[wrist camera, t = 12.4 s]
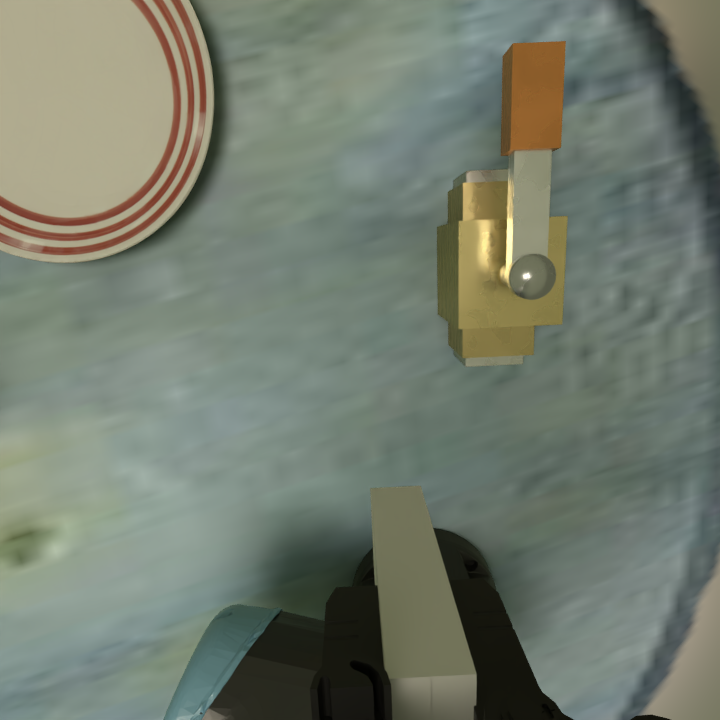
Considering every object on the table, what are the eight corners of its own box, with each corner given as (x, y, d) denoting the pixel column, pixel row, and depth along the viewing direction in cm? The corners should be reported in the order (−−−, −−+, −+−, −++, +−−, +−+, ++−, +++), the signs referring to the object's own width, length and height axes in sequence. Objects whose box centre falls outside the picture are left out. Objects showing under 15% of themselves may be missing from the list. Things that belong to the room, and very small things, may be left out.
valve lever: (491, 295, 36) (508, 300, 32) (494, 66, 33) (515, 40, 29) (533, 293, 36) (556, 298, 32) (541, 64, 33) (568, 38, 29)
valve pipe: (520, 351, 47) (559, 374, 38) (438, 355, 47) (458, 379, 38) (525, 177, 43) (570, 157, 34) (436, 180, 43) (458, 162, 34)
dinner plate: (-150, 152, 42) (-192, 144, 39) (-28, -170, 37) (-64, -210, 34) (137, 318, 46) (120, 323, 42) (282, 44, 41) (276, 26, 37)
